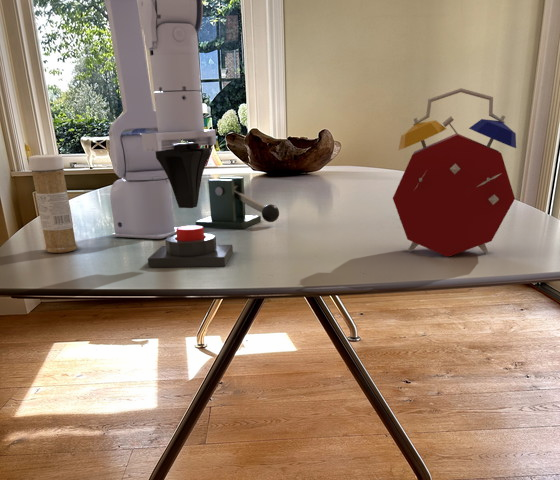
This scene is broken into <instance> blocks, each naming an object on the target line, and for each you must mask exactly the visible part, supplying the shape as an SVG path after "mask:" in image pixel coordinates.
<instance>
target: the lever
mask: <svg viewBox="0 0 560 480" xmlns="http://www.w3.org/2000/svg"><path fill="white" fill-rule="evenodd" d="M222 180H227V179H222ZM237 188H238V185H236V184H234V196H235V198H236V199H238V200H239V201H241V202H243V203H245V205H246V206H248V207H250V208H252V209H254V210H256V211H257V212H259V213H261V218H262V219H263V220H264V221H265V222H267V223H274V222H276V221H277V220H278V219H279V217H280V210H279V208H278V207H277V205H275V204H272V203H270V204H266V205H264V204H262V203H260V202H259V201H257V200H254V199H253V198H251V197H250V196H247V195H245V193H244V194H242V193H240V192H238V191H237Z"/></svg>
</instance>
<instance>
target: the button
mask: <svg viewBox="0 0 560 480" xmlns="http://www.w3.org/2000/svg"><path fill="white" fill-rule="evenodd" d="M204 234H205V231H204V227H203V226H198V225H196V224H194V225H193V224H192V225H191V224H190V225H181V226H177V228H176V234H175V235H177V240H179V241H194V240H201V239H204Z"/></svg>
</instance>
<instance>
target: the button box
mask: <svg viewBox="0 0 560 480" xmlns="http://www.w3.org/2000/svg"><path fill="white" fill-rule="evenodd" d="M164 239H165V240H164V241H165V245H161V246H160V247H159V248H158V249H157V250H155V252H154V253H152V254H151V255H150V256H149V257H148V258H147V264H148V268H199V267H201V268H211V267H226V265H227V264H228V262H229V260H230V259H231V257H232V255H233V253H234V247H233V244H217V236H216V235H214V234H211V233H204V239H201V240H194V241H179V240H177V234H174V235H171V236H168V237H165V238H164Z"/></svg>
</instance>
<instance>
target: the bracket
mask: <svg viewBox="0 0 560 480" xmlns="http://www.w3.org/2000/svg"><path fill="white" fill-rule="evenodd" d="M222 179H227V180H222ZM244 179H245V178H244V177H243V176H221V177H219V178H218V179H213V178H211V179H208V180H207V182H208V183H207V184H208V196H209V210H210V216H208V217H205V218H202V219H199V220H195V225H198V226H203V229H204V228H206V229H231V230H244V229H245V228H248V227H250V226H253V225H255V224H258V223H260V222H261V221H262V215H247V214H246V204H245V203H243V202H241V201H239V200H238V199H236V198H235V196H234V184H236V185H238V188H237V191H238V192H240V193H242V194H244V195H245V180H244Z"/></svg>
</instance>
